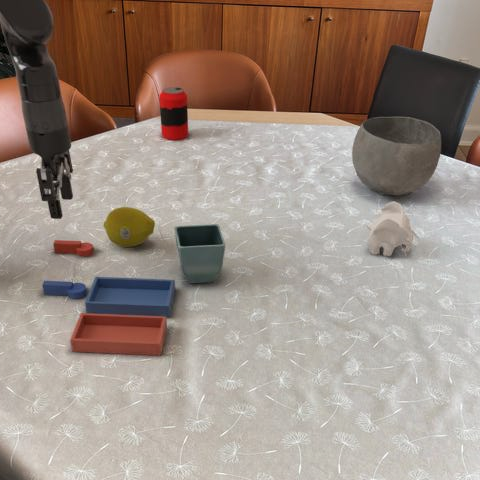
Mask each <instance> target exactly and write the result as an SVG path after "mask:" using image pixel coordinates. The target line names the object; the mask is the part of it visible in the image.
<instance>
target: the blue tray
mask: <svg viewBox="0 0 480 480" xmlns="http://www.w3.org/2000/svg"><path fill="white" fill-rule="evenodd" d="M175 293H176V280H175V279H163V278H143V277H142V278H140V277H139V278H138V277H117V276H116V277H114V276H94V280H93V282H92V284H91V287H90V289H89V292H88V293H87V296H86V299H85V301H84V305H85V311H86V313H91V314H115V315H140V316H165V317H166V318H170V316H171V312H172V307H173V303H174V298H175Z"/></svg>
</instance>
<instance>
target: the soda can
mask: <svg viewBox="0 0 480 480" xmlns="http://www.w3.org/2000/svg"><path fill="white" fill-rule="evenodd" d="M158 96H159V113H160V129H161V137H162V138H164V140H165V139H166V140H169V141H181V140H184V139H187V137H188V136H189V114H188V113H189V112H188V95H187V93H186V92H185V90H184V89H183V88H181V87H177V86H169V87H165V88H163V89H162V90H161V92H160V94H159V95H158Z"/></svg>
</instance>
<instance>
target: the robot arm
mask: <svg viewBox="0 0 480 480" xmlns="http://www.w3.org/2000/svg"><path fill="white" fill-rule="evenodd" d="M0 27H1V31H2V34H3V37H4V40H5V43H6V46H7V49H8V52H9V55H10V58H11V61H12V63H13V66H14V70H15V77H16V82H17V86H18V91H19V96H20V101H21V111H22V112H21V113H22V118H23V122H24V126H25V130H26V137H27V141H28V144H29V150H30V151H31V152H32V153H33V154H35V155H37V156H39V157H40V158H41V161H40V167H36V170H35V171H36V172H35V173H36V177H37V182H38V188H39V193H40V199H41V202H47V206H48V211H49V216H50V218H51V219H52V220H53V219H54V220H61V219H62V218H63V215H64V214H63V210H62V204H61V199H62V200H65V201H67V200H68V201H69V200H73V198H74V194H73V188H72V182H71V181H72V174H73V172H74V169H73V168H74V167H73V163H72V158H71V153H70V149H71V148H72V141H71V135H70V130H69V123H68V117H67V111H66V106H65V103H64V100H63V95H62V89H61V86H60V85H61V84H60V78H59V73H58V69H57V66H56V64H55V62H54V60H53V59H52V57H51V56H50V53H49V50H48V46H47V43H48V42H49V41H50V40H51V39H52V37H53V34H54V30H55V21H54V17H53V13H52V11H51V8H50V6H49V5H48V4H47V2H46V0H0ZM60 196H61V199H60Z"/></svg>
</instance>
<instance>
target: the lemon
mask: <svg viewBox="0 0 480 480" xmlns="http://www.w3.org/2000/svg"><path fill="white" fill-rule="evenodd" d="M155 225H156V223H155V220H154V219H153V218H152V217H150V216H149V215H148V214H146V212H144V211H142V210H140V209H138V208H134V207H129V206H121V207H117V208H114V209H113V210H111V211H110V212H109V213H108V215H107V217H106V219H105V220H104V222H103V228H104V229H105V231H106V236H107V237H108V239H109V241H110V242H111V243H113V244H115V245H117V246H118V247H123V248H131V247H136V246H139V245H141V244H142V243H144V242H145V241H146V240H147V239H148V238H149V237H150V236H151V235H152V234H153V233H154V230H155Z"/></svg>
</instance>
